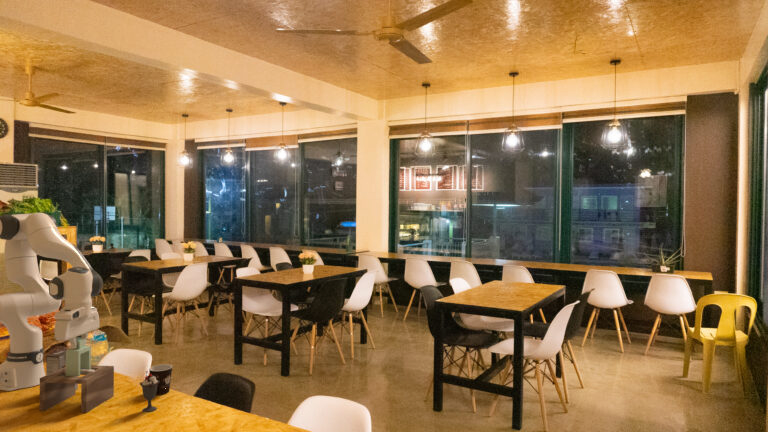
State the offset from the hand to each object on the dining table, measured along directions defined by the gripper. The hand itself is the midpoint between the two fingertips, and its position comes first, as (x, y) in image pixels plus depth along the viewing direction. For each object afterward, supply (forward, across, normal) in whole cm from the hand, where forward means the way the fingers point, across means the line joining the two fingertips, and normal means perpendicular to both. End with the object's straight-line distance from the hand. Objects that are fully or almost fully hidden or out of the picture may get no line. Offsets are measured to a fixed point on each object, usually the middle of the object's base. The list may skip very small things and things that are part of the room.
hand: (78, 346), depth 187 cm
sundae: (+22, +3, +30) cm, 37 cm away
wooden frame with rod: (+22, 0, 0) cm, 22 cm away
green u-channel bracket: (+10, 0, 0) cm, 10 cm away
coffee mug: (+22, -13, +24) cm, 35 cm away
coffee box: (+22, -10, -14) cm, 28 cm away
